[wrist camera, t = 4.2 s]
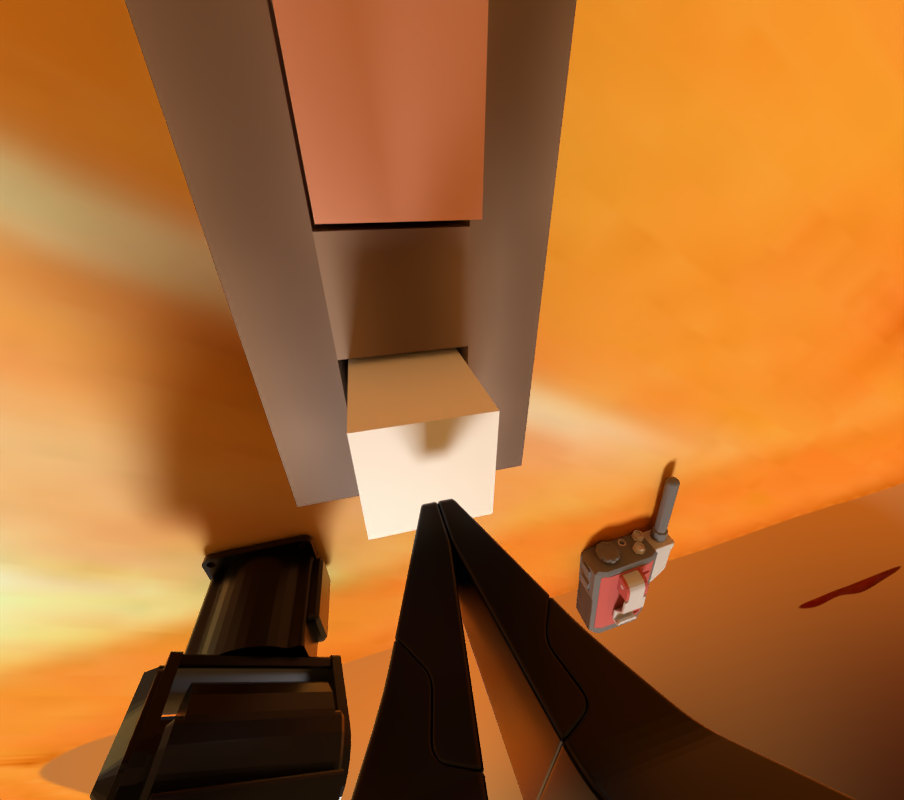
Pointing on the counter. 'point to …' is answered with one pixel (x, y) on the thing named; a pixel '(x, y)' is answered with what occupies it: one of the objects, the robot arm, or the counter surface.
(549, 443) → the counter surface
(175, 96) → the socket board
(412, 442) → the cream plug
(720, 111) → the counter surface
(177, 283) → the counter surface
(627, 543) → the walkie-talkie
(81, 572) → the counter surface
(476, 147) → the plug terracotta
